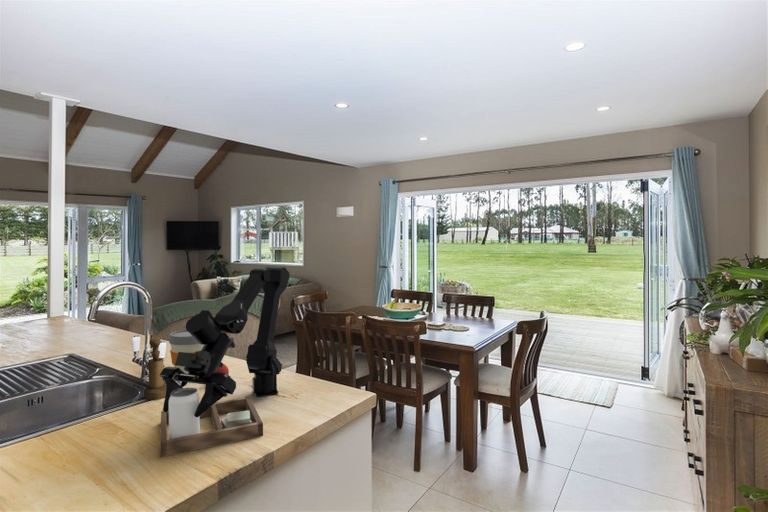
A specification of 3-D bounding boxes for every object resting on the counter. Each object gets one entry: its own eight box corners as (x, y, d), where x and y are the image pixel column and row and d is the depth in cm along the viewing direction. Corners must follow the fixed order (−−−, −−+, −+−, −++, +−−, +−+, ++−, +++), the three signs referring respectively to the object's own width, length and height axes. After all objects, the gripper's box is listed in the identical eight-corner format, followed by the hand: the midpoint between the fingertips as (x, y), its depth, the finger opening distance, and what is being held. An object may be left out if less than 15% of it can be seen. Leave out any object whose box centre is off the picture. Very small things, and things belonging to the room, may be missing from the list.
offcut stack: (249, 423, 109) (249, 408, 109) (254, 433, 103) (254, 417, 103) (221, 428, 106) (220, 413, 105) (224, 439, 100) (223, 423, 100)
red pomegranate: (222, 388, 134) (221, 363, 134) (205, 386, 135) (205, 362, 135) (232, 381, 140) (231, 358, 139) (216, 380, 141) (216, 357, 140)
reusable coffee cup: (204, 380, 141) (203, 336, 140) (164, 382, 139) (163, 337, 138) (213, 368, 153) (212, 328, 153) (176, 370, 151) (175, 329, 151)
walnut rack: (249, 407, 119) (249, 396, 119) (263, 435, 102) (262, 423, 102) (161, 422, 109) (161, 411, 109) (160, 456, 92) (160, 443, 92)
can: (176, 436, 102) (175, 387, 101) (203, 435, 102) (202, 386, 102) (164, 449, 95) (163, 397, 95) (194, 448, 96) (193, 396, 95)
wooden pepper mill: (173, 393, 129) (172, 335, 128) (155, 401, 123) (154, 340, 122) (157, 390, 131) (155, 333, 131) (138, 398, 125) (137, 338, 125)
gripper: (164, 334, 104) (126, 393, 94) (227, 340, 99) (194, 404, 89) (188, 357, 112) (155, 414, 102) (248, 363, 107) (220, 424, 97)
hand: (179, 414), depth 97 cm, fingers open, 9 cm apart
